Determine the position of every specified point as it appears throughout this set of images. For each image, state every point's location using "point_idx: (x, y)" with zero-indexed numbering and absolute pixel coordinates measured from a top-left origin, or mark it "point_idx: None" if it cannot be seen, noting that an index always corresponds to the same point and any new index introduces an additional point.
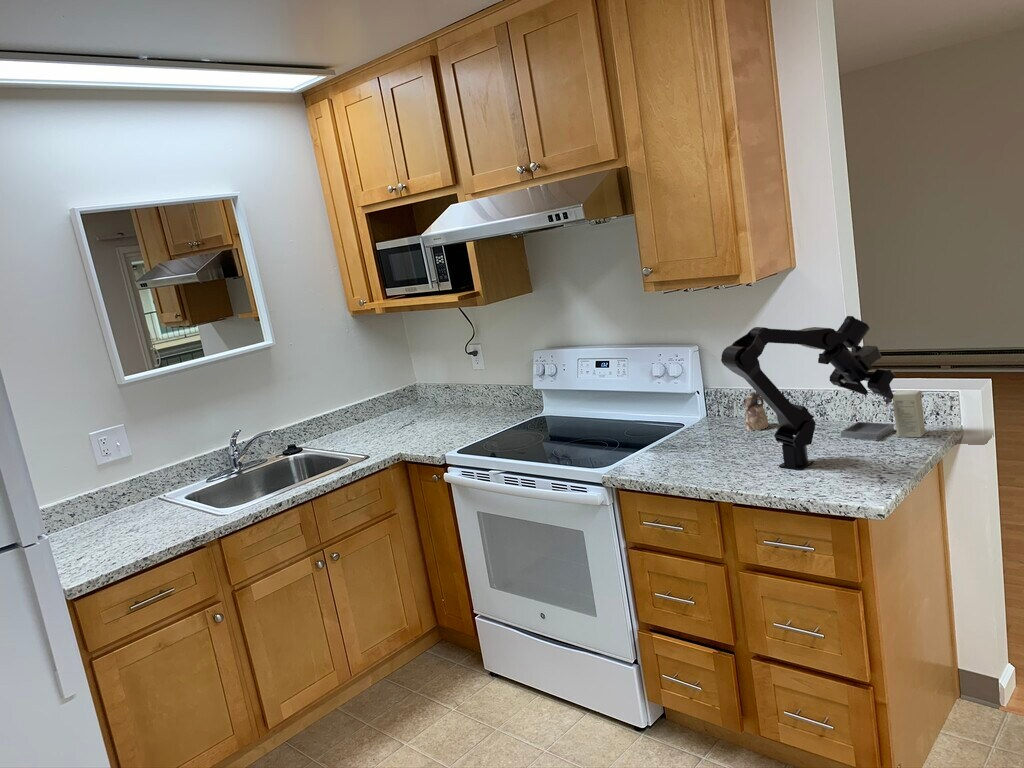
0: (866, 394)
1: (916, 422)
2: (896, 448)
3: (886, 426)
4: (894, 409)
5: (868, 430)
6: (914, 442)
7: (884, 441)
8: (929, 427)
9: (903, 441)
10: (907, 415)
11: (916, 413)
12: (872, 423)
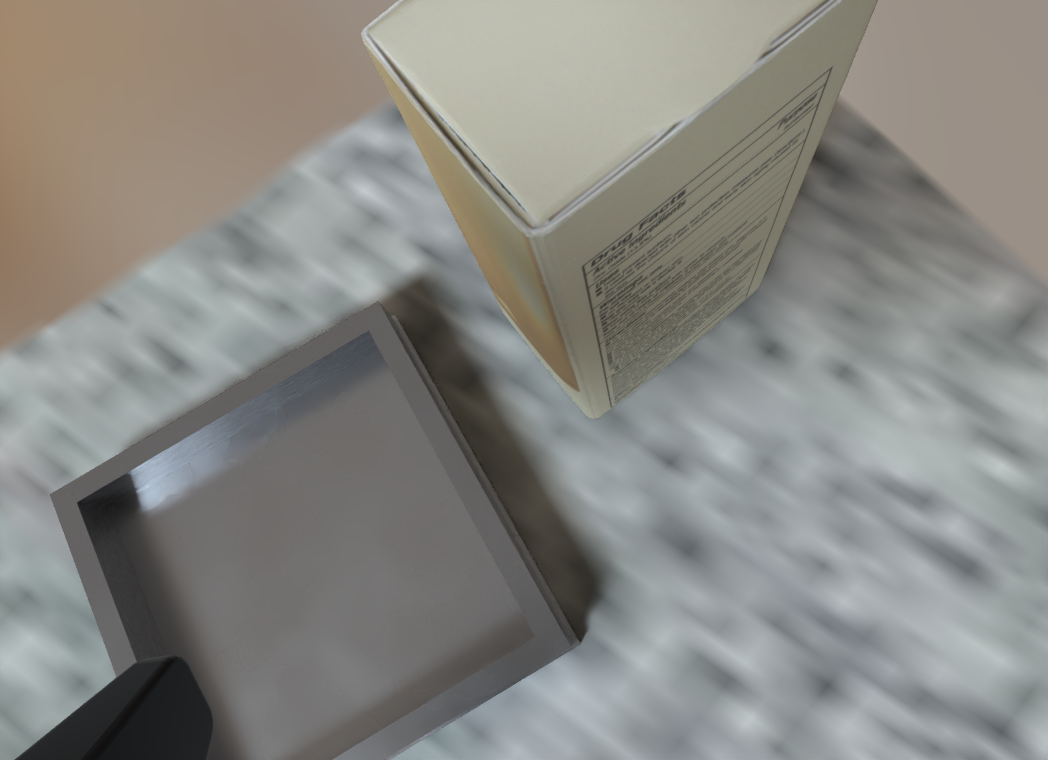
0: (208, 711)
1: (766, 239)
2: (948, 668)
3: (340, 358)
4: (574, 334)
5: (264, 515)
6: (858, 413)
7: (648, 602)
8: None
9: (764, 467)
10: (703, 262)
11: (798, 178)
12: (204, 426)
